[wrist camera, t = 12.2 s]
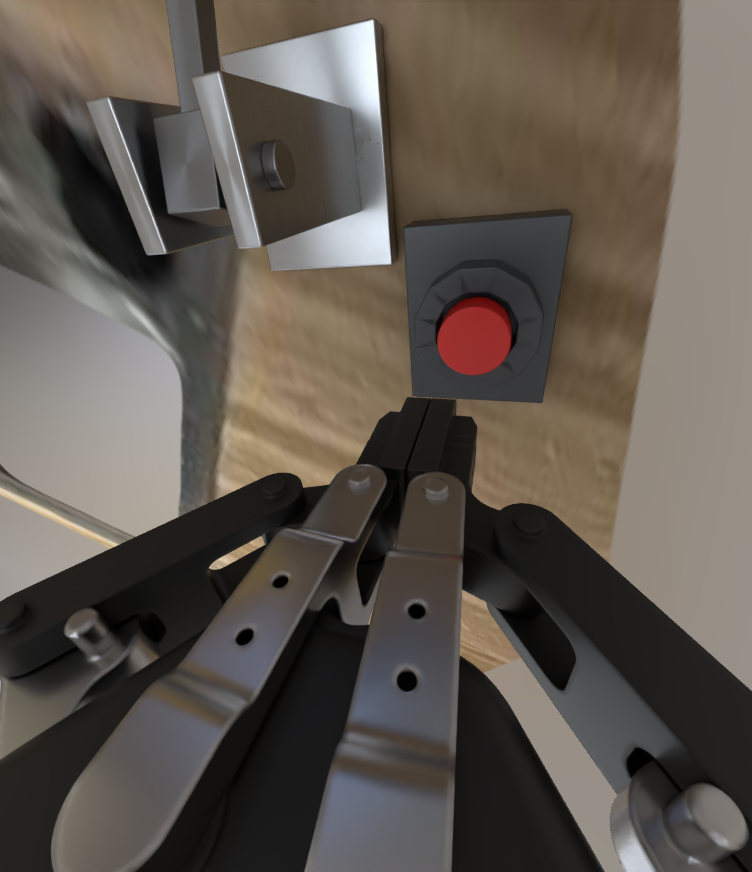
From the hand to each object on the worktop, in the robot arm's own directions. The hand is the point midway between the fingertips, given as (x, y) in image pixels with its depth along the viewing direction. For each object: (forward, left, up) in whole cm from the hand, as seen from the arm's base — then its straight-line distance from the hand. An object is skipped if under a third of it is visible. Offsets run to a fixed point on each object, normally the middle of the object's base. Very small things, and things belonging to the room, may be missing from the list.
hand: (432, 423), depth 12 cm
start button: (+1, +1, -10) cm, 10 cm away
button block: (+1, +1, -14) cm, 14 cm away
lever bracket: (-7, -8, -14) cm, 18 cm away
